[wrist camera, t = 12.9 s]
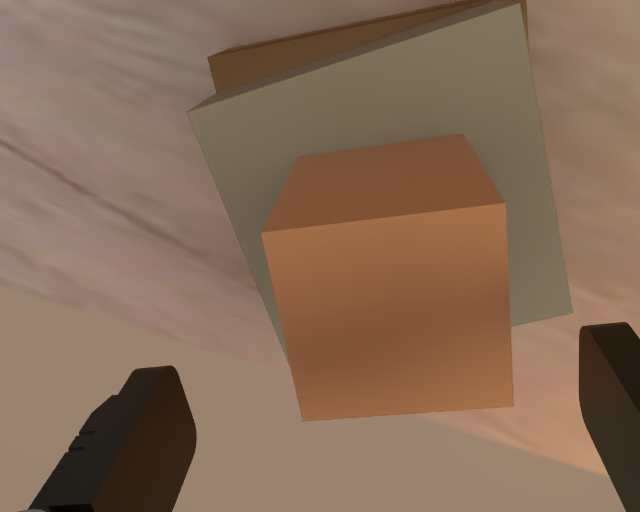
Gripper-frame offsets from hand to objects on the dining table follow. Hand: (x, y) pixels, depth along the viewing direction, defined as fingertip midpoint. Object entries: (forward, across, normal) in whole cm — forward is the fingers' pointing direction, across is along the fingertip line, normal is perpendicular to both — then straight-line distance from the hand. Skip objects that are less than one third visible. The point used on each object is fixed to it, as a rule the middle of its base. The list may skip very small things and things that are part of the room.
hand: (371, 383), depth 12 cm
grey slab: (+14, 0, 0) cm, 14 cm away
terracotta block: (+10, 0, 0) cm, 10 cm away
